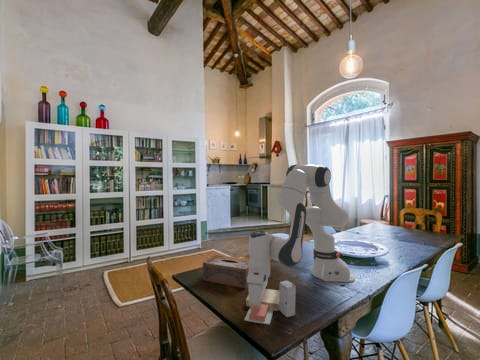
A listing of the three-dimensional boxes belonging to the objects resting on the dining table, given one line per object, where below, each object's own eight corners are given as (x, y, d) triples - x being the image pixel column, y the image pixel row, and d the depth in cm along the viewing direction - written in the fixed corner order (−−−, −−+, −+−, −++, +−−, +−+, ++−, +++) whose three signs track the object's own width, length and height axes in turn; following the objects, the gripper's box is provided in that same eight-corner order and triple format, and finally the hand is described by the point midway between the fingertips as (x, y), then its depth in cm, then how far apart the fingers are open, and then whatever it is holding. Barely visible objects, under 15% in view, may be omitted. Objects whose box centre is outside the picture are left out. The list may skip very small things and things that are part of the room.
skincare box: (278, 310, 100) (278, 281, 99) (287, 307, 101) (287, 279, 101) (287, 318, 94) (286, 287, 94) (296, 315, 96) (296, 285, 96)
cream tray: (281, 297, 110) (281, 290, 110) (278, 311, 99) (278, 303, 99) (252, 293, 114) (252, 287, 114) (246, 306, 103) (245, 299, 103)
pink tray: (254, 307, 101) (254, 302, 101) (268, 309, 100) (268, 304, 100) (249, 319, 93) (249, 314, 93) (264, 321, 91) (264, 316, 91)
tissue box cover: (203, 280, 130) (202, 262, 130) (215, 271, 143) (215, 254, 143) (246, 289, 120) (245, 269, 119) (255, 277, 133) (255, 260, 133)
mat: (273, 310, 99) (273, 309, 99) (269, 324, 90) (269, 323, 90) (250, 307, 102) (250, 306, 102) (244, 320, 93) (244, 319, 93)
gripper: (257, 261, 108) (257, 291, 108) (245, 280, 88) (246, 316, 88) (270, 262, 106) (271, 293, 106) (262, 282, 87) (262, 319, 87)
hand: (259, 304), depth 97 cm, fingers closed
